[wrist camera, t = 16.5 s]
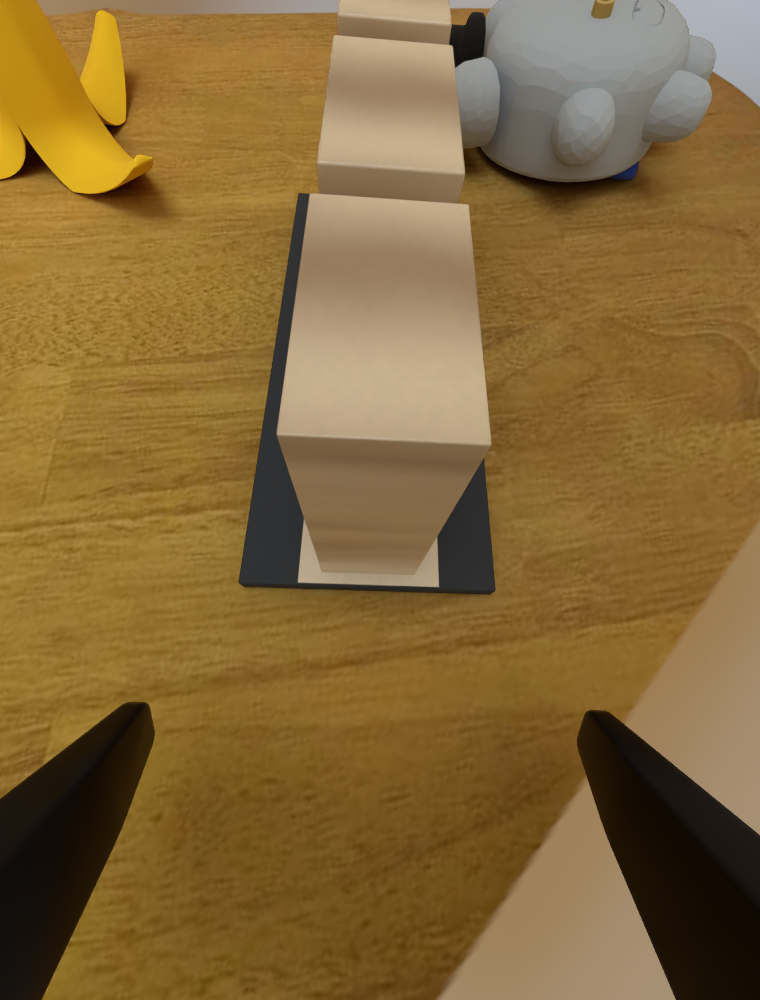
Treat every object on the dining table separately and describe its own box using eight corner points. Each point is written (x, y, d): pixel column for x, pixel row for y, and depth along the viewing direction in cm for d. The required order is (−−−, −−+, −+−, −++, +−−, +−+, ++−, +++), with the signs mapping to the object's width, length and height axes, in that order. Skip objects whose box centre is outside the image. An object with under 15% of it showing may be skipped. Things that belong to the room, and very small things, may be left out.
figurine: (678, 112, 35) (448, 84, 39) (757, -54, 27) (460, -68, 31) (657, 238, 28) (382, 190, 32) (754, 67, 20) (377, 30, 24)
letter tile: (418, 575, 18) (500, 445, 8) (317, 572, 18) (267, 434, 8) (416, 435, 21) (475, 204, 10) (329, 431, 20) (303, 191, 10)
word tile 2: (416, 412, 21) (471, 173, 11) (332, 408, 21) (310, 161, 11) (414, 310, 24) (457, 44, 14) (340, 306, 24) (328, 33, 14)
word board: (490, 594, 19) (496, 590, 18) (242, 587, 18) (237, 582, 17) (459, 216, 29) (462, 202, 28) (299, 205, 28) (298, 190, 27)
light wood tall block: (414, 292, 24) (456, 23, 14) (342, 287, 24) (332, 12, 14) (413, 215, 27) (447, -57, 17) (348, 210, 27) (343, -67, 17)
